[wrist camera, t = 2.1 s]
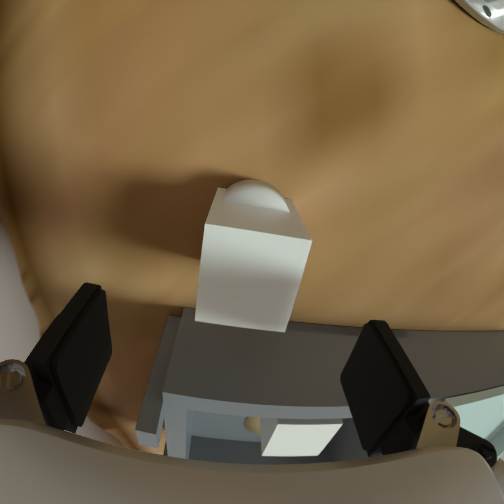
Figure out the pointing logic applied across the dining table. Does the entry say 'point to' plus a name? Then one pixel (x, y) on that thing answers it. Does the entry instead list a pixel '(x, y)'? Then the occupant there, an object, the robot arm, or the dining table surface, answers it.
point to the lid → (483, 415)
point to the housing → (285, 384)
